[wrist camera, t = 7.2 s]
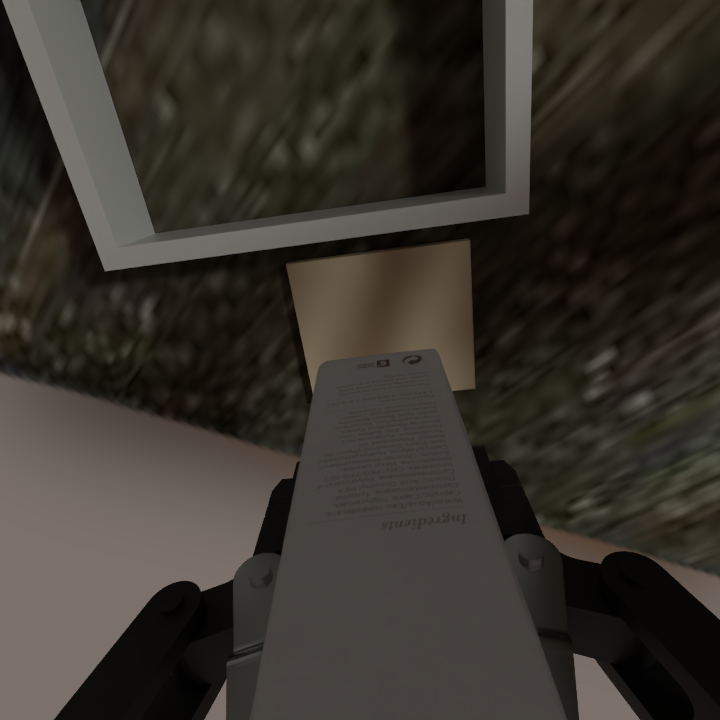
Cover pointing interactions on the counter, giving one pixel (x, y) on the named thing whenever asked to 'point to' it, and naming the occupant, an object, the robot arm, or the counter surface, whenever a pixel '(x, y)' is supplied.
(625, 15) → the counter surface
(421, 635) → the skincare box
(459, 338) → the mat
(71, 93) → the case
